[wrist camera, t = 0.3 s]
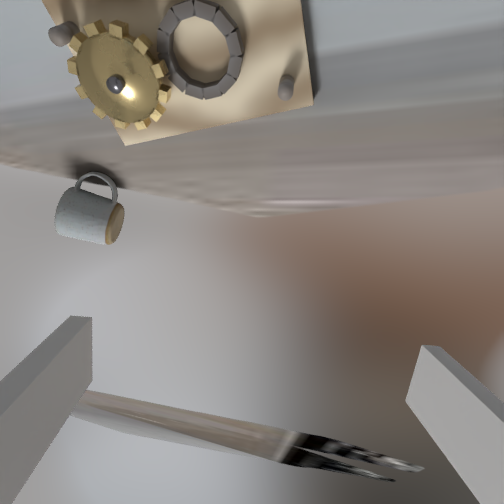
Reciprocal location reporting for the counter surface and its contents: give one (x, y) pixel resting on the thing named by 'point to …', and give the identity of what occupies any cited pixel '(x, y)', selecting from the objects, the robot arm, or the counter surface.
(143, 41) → the gear
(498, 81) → the counter surface
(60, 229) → the ceramic mug
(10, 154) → the counter surface
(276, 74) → the board
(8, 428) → the robot arm
